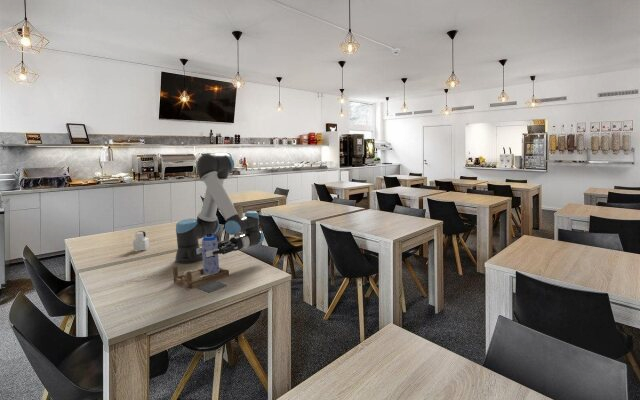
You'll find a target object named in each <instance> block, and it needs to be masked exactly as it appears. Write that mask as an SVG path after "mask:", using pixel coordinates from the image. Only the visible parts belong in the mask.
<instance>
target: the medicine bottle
mask: <svg viewBox="0 0 640 400" xmlns="http://www.w3.org/2000/svg"><path fill="white" fill-rule="evenodd" d="M134 236H135V237H134V238H135V239H133V240H132V245H133V251H134V252H136V251H135V250H146V249H147V248H148V249H150V241H149V240H150V239H149V237H146V236H147V235H146V231H144V230H143V231H142V230H140V231H136V232H135V233H134ZM148 249H147V250H148ZM147 250H146V251H147Z"/></svg>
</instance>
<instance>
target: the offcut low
mask: <svg viewBox="0 0 640 400" xmlns="http://www.w3.org/2000/svg"><path fill="white" fill-rule="evenodd" d="M200 279H203V277H202V275H201V276H200V277H198V278H196V279H193V280H192V282H194V281H197V280H200ZM183 280H184V281H186V282H187V279H186V278H184V277H183Z"/></svg>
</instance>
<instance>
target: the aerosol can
mask: <svg viewBox="0 0 640 400" xmlns="http://www.w3.org/2000/svg"><path fill="white" fill-rule="evenodd" d="M217 242H218V239H217V237H216V236H215V235H214V234H213V235H212V234H211V233H207V236H205V237H204V238H201V247H202V254H203V259H202V264H203V267H202V268H204V271H203V273H204V274H205V275H215V274H218V272H219V271H220V270H219V267H220V264H219V263H220V261H219V254H217V255H213V256H210V257H206V252H207V251H210V250H214V249H218V243H217ZM218 250H219V249H218ZM204 274H203V275H204Z"/></svg>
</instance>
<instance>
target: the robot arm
mask: <svg viewBox="0 0 640 400" xmlns="http://www.w3.org/2000/svg"><path fill="white" fill-rule="evenodd" d="M234 168H235V161H234V159H233V157H232V156H231V155H230V154H229V153H226V152H215V153H210V152H209V153H204V154H202V155H201V156H199V158H198V160H197V161H196V172H197V175H198V177H199V179H200V182H203V183H204V184H205V186H206V189H205V194H204V198H203V201H202V206H201V212H198V214H197V217H196V218H187V219H182V220H179V221H178V222H176V224H175V233H176V234H175V235H176V242H177V243H176V244H177V250H176V252H175V253H176V254H175V259H174V260H175V262H176V263H177V264H192V263H195V262H196V263H197V262H199V261H201V260H203V253H202V246H200V244H199V242H200V241H199V240H202V239H203V238H204V237H205V236H207V233H211V234H212V235H213V236H214V235H216V234H217V233H218V231H219V230H220V223H219V222H220V221H219V219H218V215H216V214H217V211H218V210H219V211H220V213H221V215H222V217H223V219H224V221H225V222H226V223H224V224H225V225H224V230H225V232H226V233H227V234H228V235H229V236H232V237H230V238H229V240H227V241H226V240H225V241H223V240H221V241H217V243H218V249H214V250H210V251H207V252H206V257H210V256H213V255H217V254H218V255H226V254H229V253H231V252H236V251H240V250H245V249H247V248H249V247H253V246H258V245H259V244H262V243H263V242H264V241H265V240H264V239H265V235H264V233H263V232H262V231H261V230H260V217H259V216H260V215H259V212H258V211H256V210H249V211H248V210H247V211H246V212H244V216H242V217H241V216H240V215H239V213H238V211H237V210H236V208H235V206H234V204H233V202H232V199H230V197H229V195H228V193H227V191H226V189H225V188H224V185H223V184H224V183H225V182H224V181H225V180H226V179H228V177H229V173H231V172H233V171H234ZM243 232H245V233H244V234H241V233H243ZM238 234H239V235H238ZM233 235H236V236H233Z"/></svg>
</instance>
